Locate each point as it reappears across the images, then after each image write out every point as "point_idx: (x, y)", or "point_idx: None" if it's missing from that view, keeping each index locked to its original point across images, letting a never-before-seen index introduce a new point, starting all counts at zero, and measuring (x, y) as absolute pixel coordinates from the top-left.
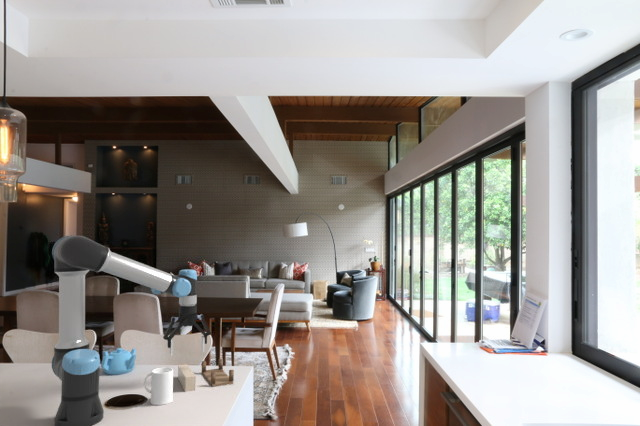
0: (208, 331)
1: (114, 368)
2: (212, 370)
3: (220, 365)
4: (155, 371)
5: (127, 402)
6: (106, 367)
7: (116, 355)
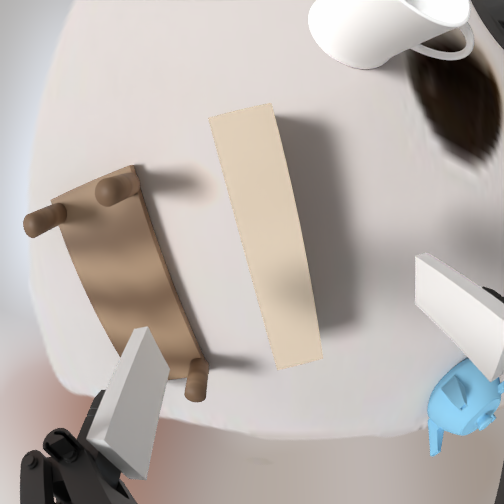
0: (33, 486)
1: None
2: None
3: None
4: (455, 18)
5: (458, 74)
6: None
7: (494, 396)
